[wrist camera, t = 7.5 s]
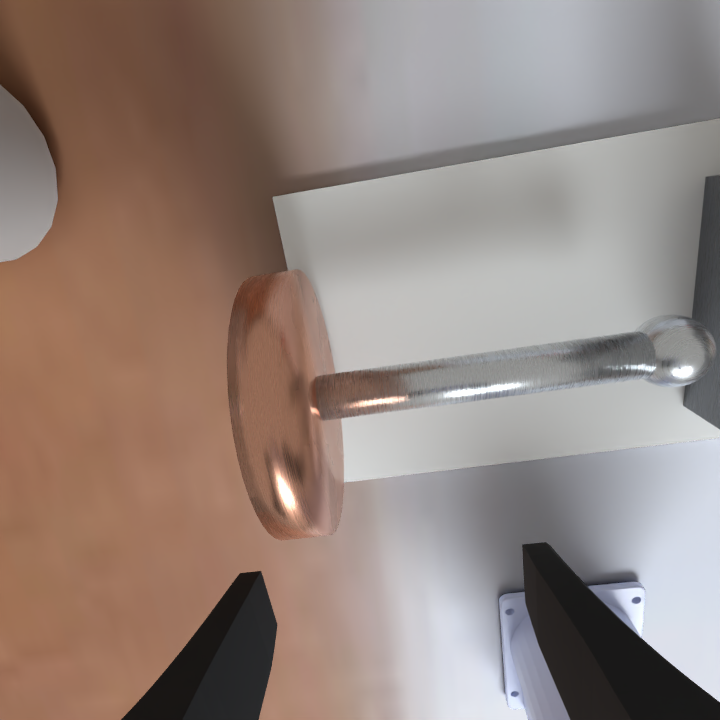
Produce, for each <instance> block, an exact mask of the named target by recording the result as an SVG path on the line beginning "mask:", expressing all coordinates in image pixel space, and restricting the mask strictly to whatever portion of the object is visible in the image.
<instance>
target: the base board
mask: <svg viewBox="0 0 720 720" xmlns="http://www.w3.org/2000/svg"><path fill="white" fill-rule="evenodd" d="M719 174H720V118H718V119H712V120H707V121H701V122H695V123H690V124H684V125H678V126H673V127H667V128H661V129H656V130H650V131H644V132H639V133H633V134H627V135H621V136H616V137H610V138H604V139H599V140H593V141H587V142H582V143H576V144H570V145H565V146H559V147H553V148H547V149H542V150H536V151H530V152H525V153H519V154H513V155H508V156H502V157H496V158H491V159H485V160H479V161H474V162H468V163H462V164H456V165H451V166H445V167H439V168H434V169H428V170H422V171H417V172H411V173H405V174H400V175H394V176H388V177H383V178H377V179H371V180H365V181H360V182H354V183H348V184H343V185H337V186H331V187H326V188H320V189H314V190H309V191H303V192H297V193H291V194H286V195H280V196H274V197H272V198H273V203H274V207H275V212H276V217H277V221H278V226H279V231H280V235H281V240H282V245H283V249H284V254H285V259H286V263H287V268H288V271H289V270H295V269H298V270H301V271H302V272H303V273H304V274H305V275H306V276H307V278H308V279H309V281H310V283H311V285H312V287H313V289H314V292H315V294H316V297H317V299H318V302H319V305H320V308H321V312H322V315H323V319H324V322H325V326H326V330H327V334H328V339H329V343H330V348H331V353H332V358H333V363H334V369H335V373H340V372H348V371H355V370H362V369H369V368H376V367H383V366H391V365H398V364H405V363H412V362H419V361H426V360H433V359H441V358H448V357H455V356H462V355H469V354H476V353H484V352H491V351H498V350H505V349H512V348H519V347H526V346H534V345H541V344H548V343H555V342H562V341H569V340H577V339H584V338H591V337H598V336H605V335H612V334H619V333H627V332H634V331H635V330H636V329H637V328H638V327H639V326H640V325H641V324H642V323H644V322H646V321H647V320H649V319H652V318H654V317H657V316H662V315H670V314H672V315H682V316H687V317H690V318H692V310H693V300H694V290H695V279H696V269H697V259H698V249H699V239H700V229H701V218H702V208H703V198H704V188H705V178H706V177H707V176H713V175H719ZM684 391H685V386H681V387H661V386H657V385H654V384H651V383H649V382H647V381H645V380H643V379H640V380H632V381H624V382H617V383H609V384H601V385H594V386H586V387H578V388H571V389H563V390H556V391H548V392H540V393H533V394H525V395H517V396H510V397H502V398H494V399H487V400H479V401H471V402H464V403H456V404H449V405H441V406H433V407H426V408H418V409H410V410H403V411H395V412H387V413H380V414H372V415H365V416H357V417H349V418H342V419H341V422H342V434H343V451H344V483H345V482H353V481H361V480H370V479H378V478H387V477H395V476H404V475H412V474H420V473H429V472H437V471H446V470H454V469H463V468H471V467H480V466H488V465H496V464H505V463H513V462H522V461H530V460H539V459H547V458H555V457H564V456H572V455H581V454H589V453H598V452H606V451H614V450H623V449H631V448H640V447H648V446H657V445H665V444H674V443H682V442H690V441H699V440H707V439H716V438H720V429H718V428H717V427H715V426H714V425H712V424H710V423H709V422H707V421H706V420H704V419H703V418H701V417H700V416H698V415H697V414H695V413H694V412H692V411H690V410H689V409H687V408H686V407H684V406H683V401H684Z"/></svg>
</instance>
